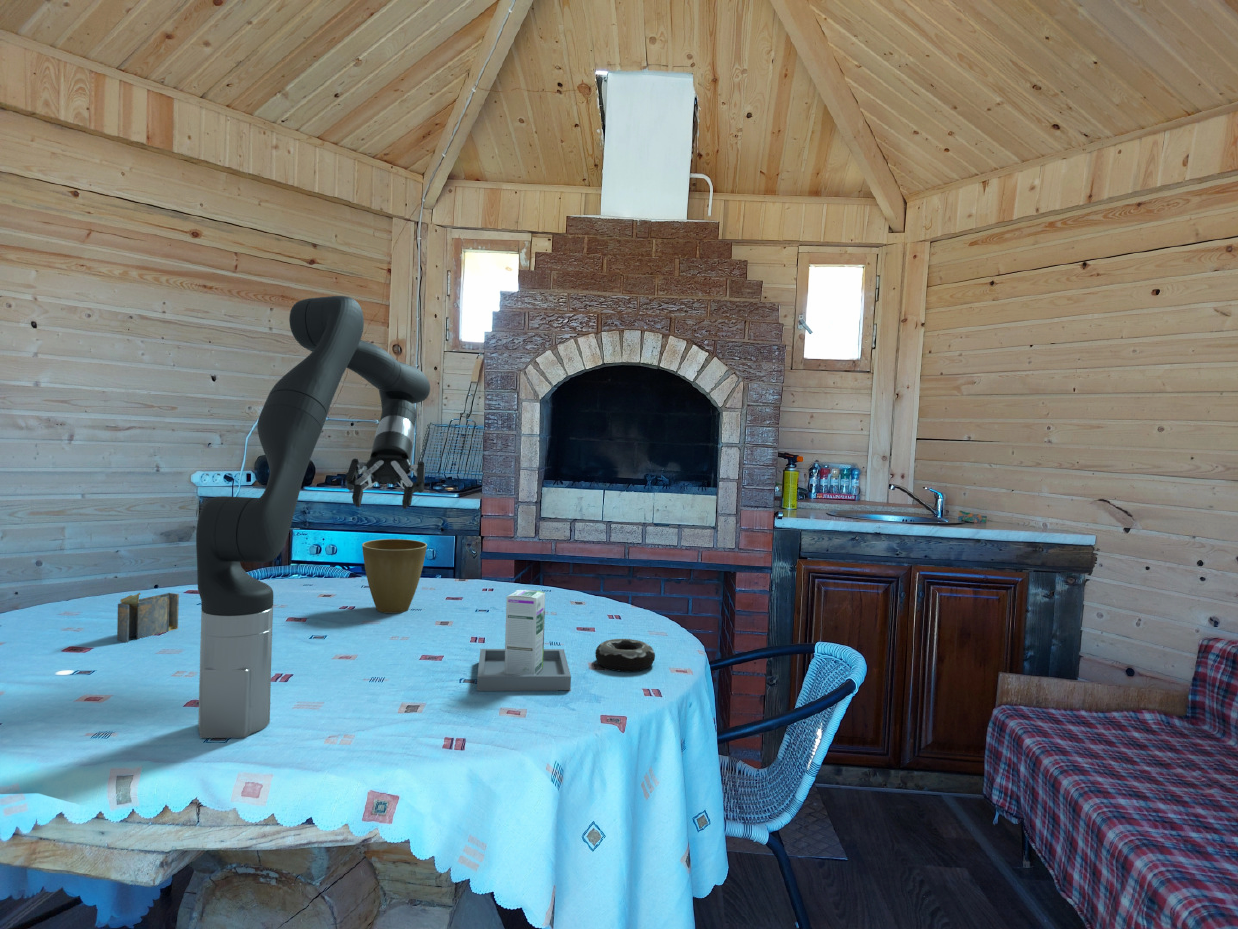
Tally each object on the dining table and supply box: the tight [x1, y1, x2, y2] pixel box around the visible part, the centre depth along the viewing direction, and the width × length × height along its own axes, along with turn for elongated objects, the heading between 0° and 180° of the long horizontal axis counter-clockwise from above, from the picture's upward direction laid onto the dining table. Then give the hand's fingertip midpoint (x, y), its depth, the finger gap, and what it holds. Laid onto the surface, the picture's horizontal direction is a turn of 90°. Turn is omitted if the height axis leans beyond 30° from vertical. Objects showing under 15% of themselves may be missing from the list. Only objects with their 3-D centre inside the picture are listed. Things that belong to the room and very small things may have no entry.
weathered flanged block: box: [116, 592, 180, 643], centre depth 149 cm, size 11×3×10 cm, turn 162°
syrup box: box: [504, 589, 546, 675], centre depth 135 cm, size 6×6×14 cm
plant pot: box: [361, 538, 428, 614], centre depth 178 cm, size 15×15×16 cm
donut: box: [595, 638, 656, 672], centre depth 146 cm, size 12×12×4 cm
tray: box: [476, 648, 572, 692], centre depth 136 cm, size 16×16×2 cm
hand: (381, 505), depth 139 cm, fingers open, 8 cm apart
